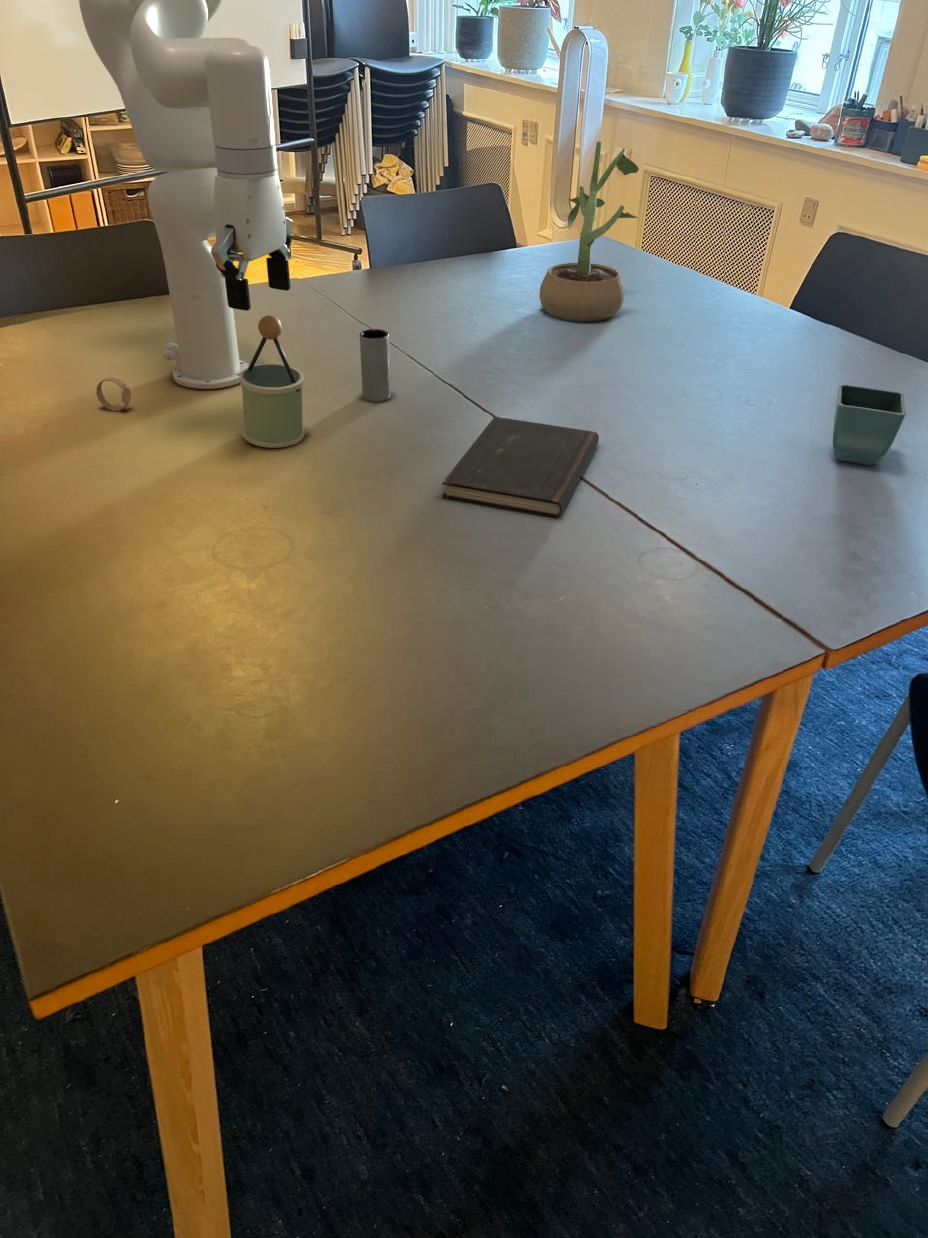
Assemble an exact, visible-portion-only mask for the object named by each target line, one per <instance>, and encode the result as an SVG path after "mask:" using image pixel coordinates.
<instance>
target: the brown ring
mask: <svg viewBox="0 0 928 1238" xmlns="http://www.w3.org/2000/svg"><path fill="white" fill-rule="evenodd" d="M104 382H113V383H114V384H116V385H117V386H118V387H119V388H120V390H121V395H120V398H121V401H122V402H123V404H124V405H123V406H114V405H113V404H111V403H109V402H108V401H107V400H106V398H105V395H104V394H103V389H102V385H103V383H104ZM95 392H96V397H97V399H98V401H99V403H100V404H101V405H102V406H103V407H104V408H106V409H107V410H109V411H112V412H120V411H123V410H124V409H125V408H126V407H127V406H128V405H129V404H130V403H131V399H132V391H131V389H130V387H128V385H127V384H126V383H125V382H124V381H122V380H120V378H117V377H114V376H113V377H112V376H109V377H106V378H104V379H102V380H101V381H99V382H98V384H97V386H96V391H95Z"/></svg>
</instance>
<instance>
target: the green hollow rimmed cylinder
mask: <svg viewBox="0 0 928 1238" xmlns="http://www.w3.org/2000/svg"><path fill="white" fill-rule="evenodd" d="M257 325H258V326H257V329H258V333H259V334H260V336H261V337H262V338H261V340H260V342H259V345H258V346H257V349H256V351H255V352H254V355H253V357H252V359H251V361H250V363H249V364H248V365H249V367H248V368H246V369H244V370H242V371H241V373H240V375H239V380H240V383H239V384H240V386H241V391H242V393H241V394H242V412H243V427H242V429H241V430H242V431H241V432H242V437H243V439H244V440H245V441H246V442H248V443H250V444H252V445H255V446H257V447H262V448H269V449H270V448H271V449H278V448H279V449H280V448H287V447H290V446H294V445H297V444H298V443H301V441H302V440H303V439H304V438H305V436H306V435H305V433H306V431H305V427H304V425H303V385H304V383H305V376H304V374H303V372H302V371H300V370H299V369H297V368H295V367H293V366H290V364H289V362H288V360H287V359H288V358H287V357H286V355H285V352H284V350H283V348H282V346H281V343H280V342H279V339H278V338H279V337H280V335H281V334H282V330H283V326H282V323H281V321H280V319H279V318H278V317H276V316H274V315H271V314H269V315H264V316H263V317H261V318H260V320H259V322H258V324H257ZM269 340H271V341H272V340H273V343H274V345H275V347H276V350H277V352H278V355H279V356H280V359H281V361H282V363H283V364H281V363H259V364H256V363H257V361H258V359H259V356H260V355H261V353H262V350H263V348H264V346H265V345H266V342H267V341H269Z"/></svg>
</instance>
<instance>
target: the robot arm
mask: <svg viewBox="0 0 928 1238" xmlns="http://www.w3.org/2000/svg"><path fill="white" fill-rule="evenodd" d="M223 2H224V1H223V0H78V3H79V10H80V14H81V18H82V22H83V26H84V29H85V31H86V33H87V36H88V39H89V41H90V43H91V46H92V48H93V49H94V51H95V53H96V55H97V57H98V58H99V60H100V61H101V63H102V65H103V66H104V68H105V69H106V70H107V72H108V74H109V75H110V77H111V78H112V80H113V82H114V84H115V86H117V89H118V92H119V95H120V97H121V100H122V104H123V106H124V109H125V112H126V115H127V118H128V120H129V123H130V127H131V130H132V132H133V135H134V138H135V141H136V143H137V146H138V149H139V151H140V154H141V156H142V158H143V160H144V161H145V163H146V165H148V166H149V167H150V168H151V169H153V170H155V171H158V172H163V173H162V174H160V175H157V176H156V177H155V178H153V180H152V181H151V182H150V184H149V186H148V188H147V202H148V206H149V211H150V215H151V218H152V221H153V223H154V228H155V230H156V233H157V236H158V240H159V245H160V249H161V254H162V258H163V263H164V268H165V269H164V270H165V275H166V281H167V287H168V294H169V299H170V306H171V313H172V319H173V325H174V331H175V338H176V343H171V342H168V343H166V345H165V347H164V348H165V349H164V350H163V352H162V358H163V359H166V360H170V361H171V360H172V361H174V364H175V367H174V368H173V369H172V379H173V381H174V382H175V383H176V384H178V385H180V386H182V387H185V388H189V389H198V390H215V389H224V388H228V387H232V386H235V385H237V384H240V380H239V375H240V373H241V371H242V370H244V369H246V368H248V367H249V365H250V364H248V363H247V362H246V361H244V360H241V359H240V355H239V348H238V338H237V330H236V322H235V315H234V309H235V310H240V311H245V312H247V311H250V310H251V309H252V305H251V295H250V288H249V287H250V286H249V279H248V278H245V277H246V272H247V270H248V266H249V263H250V262H252V261H255V260H257V259H260V258H262V257H264V256H267V255H268V256H269V257H266V258H265V259H266V270H267V271H266V272H267V281H268V287H269V288H270V289H273V290H279V291H286V292H287V291H289V290H291V277H290V266H289V264H290V263H289V260H290V258H291V252H290V249H291V246H292V241H293V239H292V234H293V228H294V221H293V220H292V219H290V218H289V217H287V216H286V212H285V204H284V198H283V191H282V186H281V181H280V177H279V170H278V157H277V145H276V135H275V134H276V133H275V122H274V110H273V97H272V83H271V73H270V63H269V59H268V56H267V54H266V52H265V50H263V49H262V48H260V47H258V46H255V45H254V46H253V45H251V44H250V43H249V42H248V41H246V40H244V39H243V38H239V37H203V35H204V33H205V31H206V30H207V29H206V28H207V25H208V23H209V22H210V21H211V20H212V18H213V16H214V15H215V14H216V13H217V12H218V10H219V8H220V7H221V5H222V4H223ZM211 238H215V242H214V243H213V245H210V243H209V239H211ZM234 262H238V264H237V267H236V265H234Z"/></svg>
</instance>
